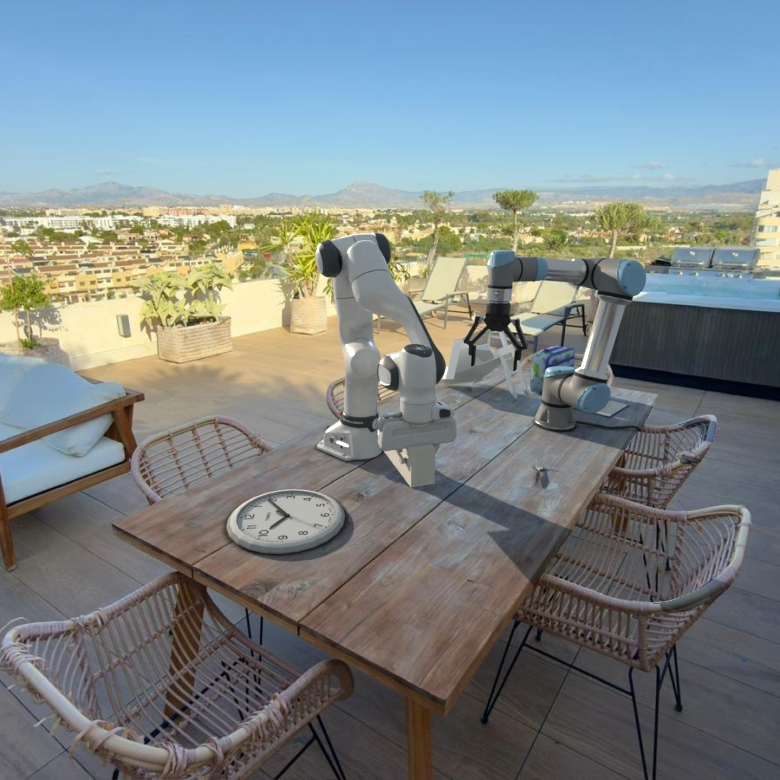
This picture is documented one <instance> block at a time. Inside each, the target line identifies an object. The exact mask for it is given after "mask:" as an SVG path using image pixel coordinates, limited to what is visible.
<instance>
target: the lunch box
mask: <svg viewBox="0 0 780 780" xmlns="http://www.w3.org/2000/svg"><path fill="white" fill-rule="evenodd" d="M575 352H576V351H575V349H574V348H573V347H567V346H561V345H553V346H549V347H547V348H543V349H541V350H538V351H537V352H535V353H534V355H533V357H532V359H531V366H530V379H529V391H531V392H532V393H537V394H542V391H543V380H544V374H545V370H546V369H547V368H549V367H556V366H567V367H574V368H575V357H576V354H575Z"/></svg>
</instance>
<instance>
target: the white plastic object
mask: <svg viewBox="0 0 780 780" xmlns="http://www.w3.org/2000/svg"><path fill="white" fill-rule="evenodd" d="M498 335H499V338H500V342H501V345H502V347H500V348H498V349H496V350H495V349H493V348H492V347H491V346H490V344H489V343H488V342H487V343H483V344H479V345H476V356H475V365H474V366H471V355H469V345H468V344H465V343H464V342H463V341H464V340H465V339H463V338H460V339H458V338H454V340H453V344H452V349H451V353H450V357H449V362H448V366H446V370H445V373H444V376H443V377H442V379H441V380H440V381H442V383H443V384H444V385H445V386H449V385H458V384H467V383H468V384H469V383H473V384H477V383H480V382H482V381H484V378H485V377H486V376H487V375H489V374H490V373H492V372H494V371H495V370H496V369H497V368H499V367H500V366H502V370H503V373H504V376H505V380H506V383H507V386H508V390H509V393H510V394H511V395H512V397H513V398H514V399H515V400H517V392H516V391H517V390H516V388H515V385H514V381H513V378H512V375H511V371H510V369H509V365H508V361H510V360H513V361H514V354H515V350H516V349H517V348H516V347H515V346H514V344H513V343H511V344H508V341H507V337H506V334H505V333H504V331H502V332H498ZM522 368H523V367H522V366H521V362H520V361H519V360H517V369H516V372H517V376H518V380H519V382H520V385H521V389H522V391H523V393H524V395H525V396H526V397H528V396H531V395H530V389H529V388H528V387H529V386H528V384H527V381H526V378H525V375H524V371H523V369H522Z"/></svg>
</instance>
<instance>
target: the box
mask: <svg viewBox="0 0 780 780" xmlns="http://www.w3.org/2000/svg"><path fill="white" fill-rule="evenodd" d="M383 452H384V454H385V455H386V456H387V457H388V459H389V461H390V462H391V463H392V464H393V466H394V467H395V468H396V469H397V471H398V472H399V474H400V475H401V477H403V479H404V480H405V482H406V483H407V484H408V486H409V487H410V488H412V489H413V488H416V487H417V488H418V487H423V486H424V487H425V486H430V485H435V480H436V479H435V478H436V474H435V473H436V454H435V447H434V446H433V445H432V444H426V445H419V446H412V447H408V448H406V449H403V452H402V453H401V452H400V453H401V455H405V457H406V458H407V461H406V462H407V463H406V464H400V462H399V456H398V454H397V453H396V451H395V450H391V451H383Z"/></svg>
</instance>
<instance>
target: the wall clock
mask: <svg viewBox="0 0 780 780" xmlns="http://www.w3.org/2000/svg"><path fill="white" fill-rule="evenodd" d="M345 520H346V515H345V511H344V508H343V507H342V505H341V504H340V503H339V502H338V501H337V500H336V499H334V498H333V497H331V496H329V495H327V494H324V493H322V492H319V491H315V490H309V489H298V488H297V489H295V488H292V489H289V488H288V489H280V490H279V489H278V490H274V491H270V492H269V491H268V492H265V493H262V494H260V495H257V496H254V497H252V498H250V499H248V500H246V501H245V502H243V503H241V504H240V505H239V506H237V508H236V509H234V510H233V511H232V512H231V514H230V516H229V517H228V519H227V522H226V531H227V534H228V537H229V538H230V539H231V540H232V541H233V542H234V543H235V544H236V545H238V546H240V547H242V548H244V549H246V550H248V551H253V552H256V553H261V554H271V555H273V554H274V555H281V554H282V555H283V554H291V553H300V552H303V551H306V550H311V549H314V548H316V547H318V546H320V545H322V544H325V543H328V541H330V540H332V538H334V537H335V536H336V535H338V533H339V532H340V531H341V530H342V528H343V527H344V524H345Z"/></svg>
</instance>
